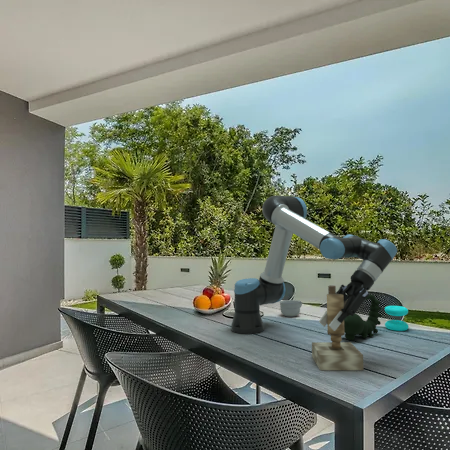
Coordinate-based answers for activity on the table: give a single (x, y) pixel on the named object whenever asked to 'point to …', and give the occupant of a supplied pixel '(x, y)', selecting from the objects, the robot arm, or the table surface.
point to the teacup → (290, 307)
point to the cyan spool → (396, 324)
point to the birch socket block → (337, 356)
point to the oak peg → (333, 308)
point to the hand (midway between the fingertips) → (326, 326)
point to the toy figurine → (363, 322)
